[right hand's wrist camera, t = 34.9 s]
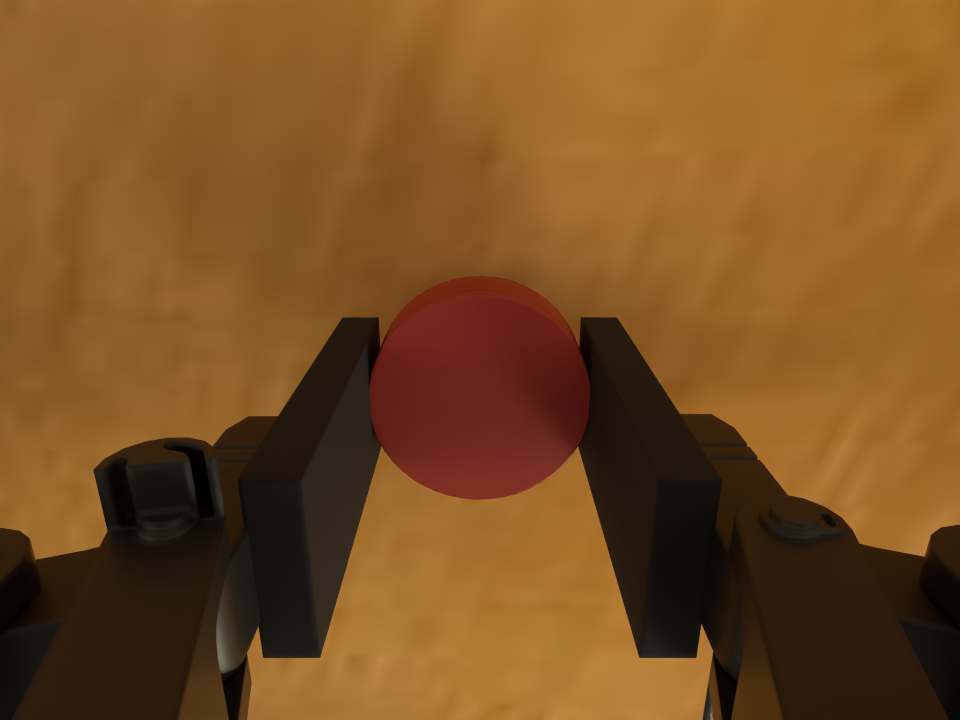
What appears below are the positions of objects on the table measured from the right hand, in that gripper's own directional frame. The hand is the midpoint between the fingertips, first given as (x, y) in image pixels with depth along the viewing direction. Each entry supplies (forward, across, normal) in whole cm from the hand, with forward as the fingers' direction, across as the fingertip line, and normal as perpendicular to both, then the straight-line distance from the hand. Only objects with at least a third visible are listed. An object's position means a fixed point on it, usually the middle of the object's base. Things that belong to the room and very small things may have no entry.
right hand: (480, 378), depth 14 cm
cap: (-1, 0, 0) cm, 1 cm away
